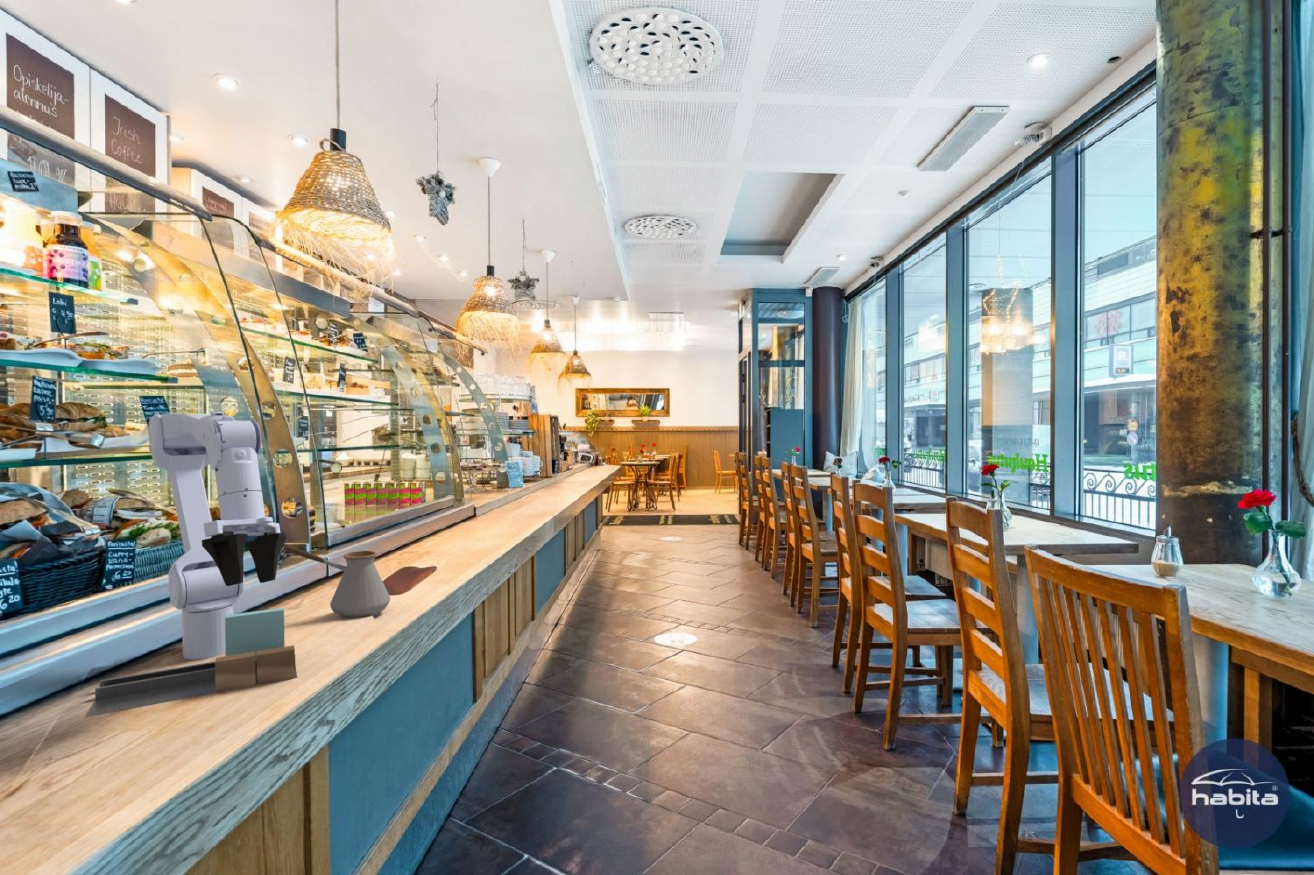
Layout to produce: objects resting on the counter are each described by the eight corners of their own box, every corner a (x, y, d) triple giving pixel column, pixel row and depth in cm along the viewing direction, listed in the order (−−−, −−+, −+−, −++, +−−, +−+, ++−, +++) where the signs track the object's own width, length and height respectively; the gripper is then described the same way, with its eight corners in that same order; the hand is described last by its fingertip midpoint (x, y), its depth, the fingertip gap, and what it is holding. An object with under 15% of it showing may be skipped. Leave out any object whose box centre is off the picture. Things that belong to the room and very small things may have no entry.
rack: (103, 692, 96) (102, 676, 96) (294, 660, 109) (294, 645, 109) (85, 723, 86) (85, 705, 86) (297, 683, 99) (297, 668, 99)
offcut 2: (257, 679, 98) (256, 651, 98) (294, 673, 101) (294, 645, 101) (257, 684, 97) (256, 655, 96) (295, 677, 99) (294, 649, 99)
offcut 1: (216, 687, 96) (215, 657, 95) (255, 680, 98) (255, 651, 98) (215, 692, 94) (215, 662, 94) (255, 684, 96) (255, 655, 96)
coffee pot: (397, 605, 140) (396, 538, 139) (381, 622, 129) (380, 549, 128) (294, 608, 137) (293, 539, 137) (268, 626, 126) (267, 551, 125)
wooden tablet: (402, 570, 174) (402, 564, 174) (439, 570, 174) (439, 564, 174) (359, 598, 147) (359, 591, 147) (402, 598, 147) (402, 591, 147)
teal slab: (226, 671, 102) (225, 615, 101) (284, 661, 106) (283, 607, 105) (226, 674, 100) (225, 617, 100) (284, 664, 105) (283, 609, 104)
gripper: (233, 485, 91) (245, 579, 89) (293, 492, 105) (305, 574, 103) (185, 496, 91) (196, 591, 89) (251, 503, 105) (262, 584, 103)
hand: (251, 583), depth 96 cm, fingers open, 7 cm apart
